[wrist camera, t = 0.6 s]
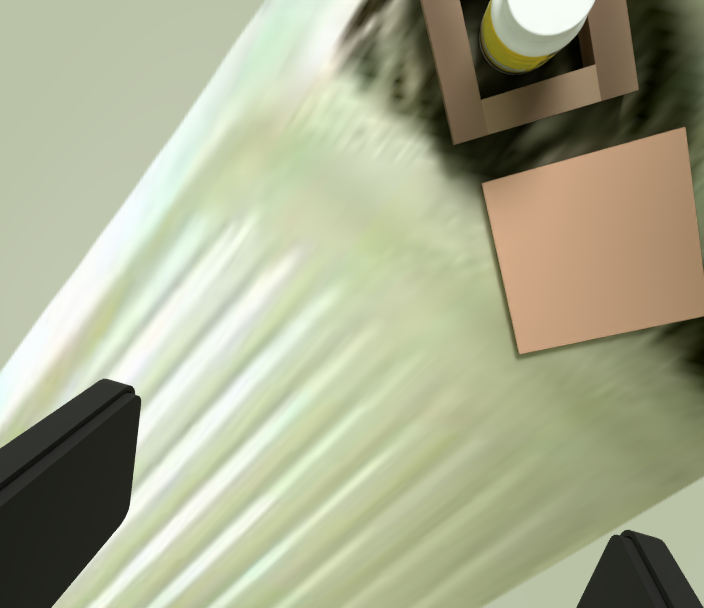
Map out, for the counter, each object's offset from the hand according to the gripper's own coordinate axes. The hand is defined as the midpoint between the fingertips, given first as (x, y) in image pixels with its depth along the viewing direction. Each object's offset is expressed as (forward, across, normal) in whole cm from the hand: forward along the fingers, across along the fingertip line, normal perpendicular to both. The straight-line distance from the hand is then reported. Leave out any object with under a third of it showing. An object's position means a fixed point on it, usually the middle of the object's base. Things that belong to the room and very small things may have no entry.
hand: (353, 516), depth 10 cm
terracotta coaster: (+27, -12, -4) cm, 29 cm away
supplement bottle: (+27, -3, -15) cm, 31 cm away
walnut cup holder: (+27, -3, -15) cm, 31 cm away
